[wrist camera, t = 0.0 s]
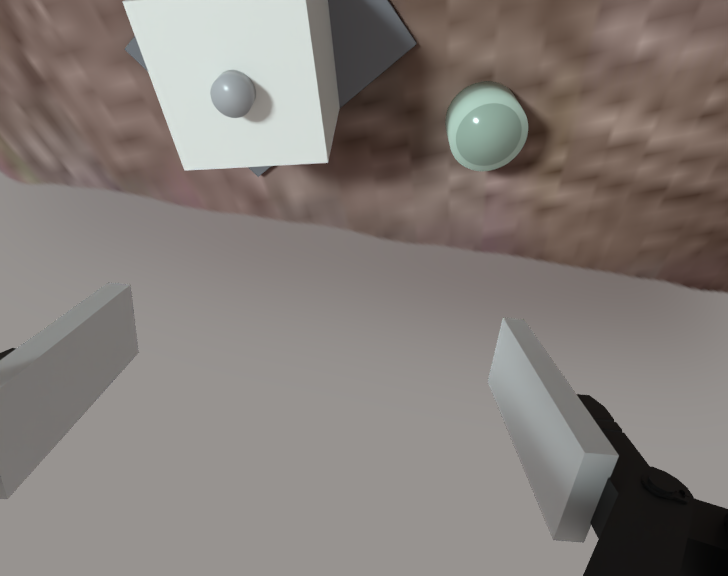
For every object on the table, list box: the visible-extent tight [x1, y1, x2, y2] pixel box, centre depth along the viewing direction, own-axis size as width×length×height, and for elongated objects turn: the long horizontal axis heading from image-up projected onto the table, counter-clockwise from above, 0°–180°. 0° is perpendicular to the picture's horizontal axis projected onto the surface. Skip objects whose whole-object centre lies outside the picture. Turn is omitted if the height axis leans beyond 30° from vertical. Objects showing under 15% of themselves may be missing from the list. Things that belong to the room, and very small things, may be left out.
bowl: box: [445, 81, 528, 171], centre depth 37 cm, size 6×6×4 cm
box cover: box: [123, 0, 340, 170], centre depth 31 cm, size 10×10×11 cm
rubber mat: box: [125, 0, 416, 177], centre depth 35 cm, size 18×14×1 cm
